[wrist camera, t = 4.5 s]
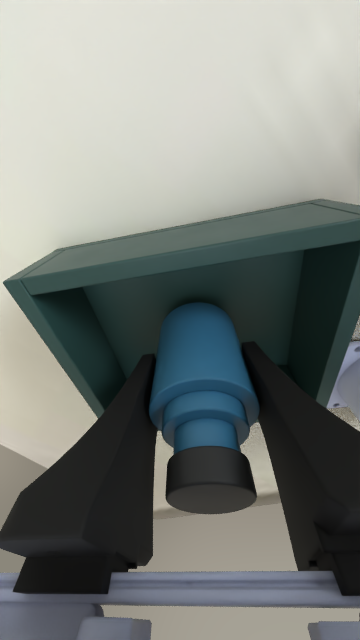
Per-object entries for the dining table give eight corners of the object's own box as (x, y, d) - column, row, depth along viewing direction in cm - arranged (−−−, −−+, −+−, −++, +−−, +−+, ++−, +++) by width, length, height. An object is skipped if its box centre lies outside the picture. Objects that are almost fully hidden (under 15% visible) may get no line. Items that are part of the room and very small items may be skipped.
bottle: (232, 296, 12) (299, 463, 5) (235, 355, 14) (281, 520, 8) (152, 308, 12) (113, 474, 5) (168, 363, 15) (156, 524, 8)
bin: (321, 198, 11) (397, 211, 7) (293, 364, 17) (323, 417, 14) (56, 249, 12) (1, 282, 9) (123, 383, 19) (109, 435, 15)
